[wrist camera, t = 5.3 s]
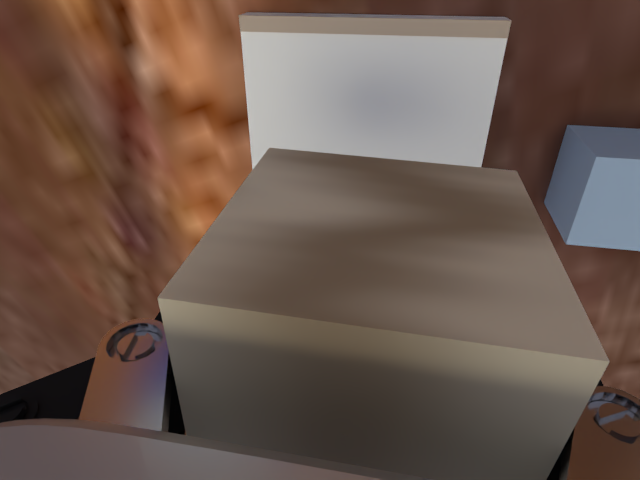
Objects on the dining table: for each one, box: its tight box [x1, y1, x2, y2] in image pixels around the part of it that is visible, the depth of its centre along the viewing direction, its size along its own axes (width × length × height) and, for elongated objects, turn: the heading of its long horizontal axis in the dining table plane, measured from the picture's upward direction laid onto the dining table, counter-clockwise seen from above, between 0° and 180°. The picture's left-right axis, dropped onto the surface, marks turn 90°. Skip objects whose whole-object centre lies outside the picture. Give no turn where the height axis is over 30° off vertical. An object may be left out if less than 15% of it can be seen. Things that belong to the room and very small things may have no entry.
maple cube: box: [158, 148, 609, 480], centre depth 10 cm, size 6×6×6 cm
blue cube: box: [544, 125, 640, 251], centre depth 25 cm, size 5×5×5 cm
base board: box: [239, 12, 511, 169], centre depth 28 cm, size 14×14×2 cm
